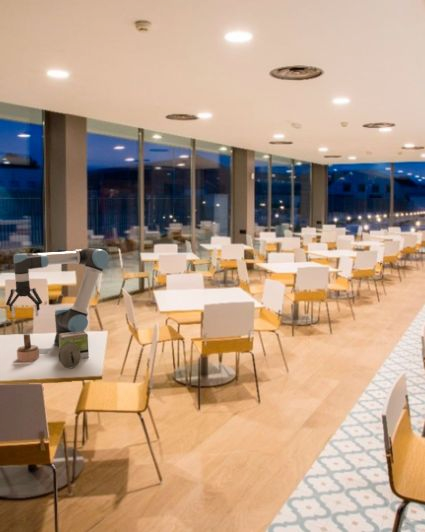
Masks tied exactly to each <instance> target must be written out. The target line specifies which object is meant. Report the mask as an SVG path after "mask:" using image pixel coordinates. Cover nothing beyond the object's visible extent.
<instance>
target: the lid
mask: <svg viewBox="0 0 425 532" xmlns="http://www.w3.org/2000/svg"><path fill="white" fill-rule="evenodd" d="M38 348H39V346H38V345H35V344H31V334H30V333H24V334H23V346H20V347H18V348H17V350H18V351H19V352H31V351H35V350H37V349H38Z"/></svg>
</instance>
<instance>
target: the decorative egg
mask: <svg viewBox="0 0 425 532" xmlns="http://www.w3.org/2000/svg"><path fill="white" fill-rule="evenodd" d="M80 358H81V354H80V350H79V348H78V346H77V345H76V344H75V343H74V342H70V341H69V342H65V343H64V344H63V345H62V346H61V348H60V351H58V359H59V362H60V364H61V365H62V367H64V368H66V369H73V368H75V367H77V366H78V365H79V363H80V362H81V359H80Z"/></svg>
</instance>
